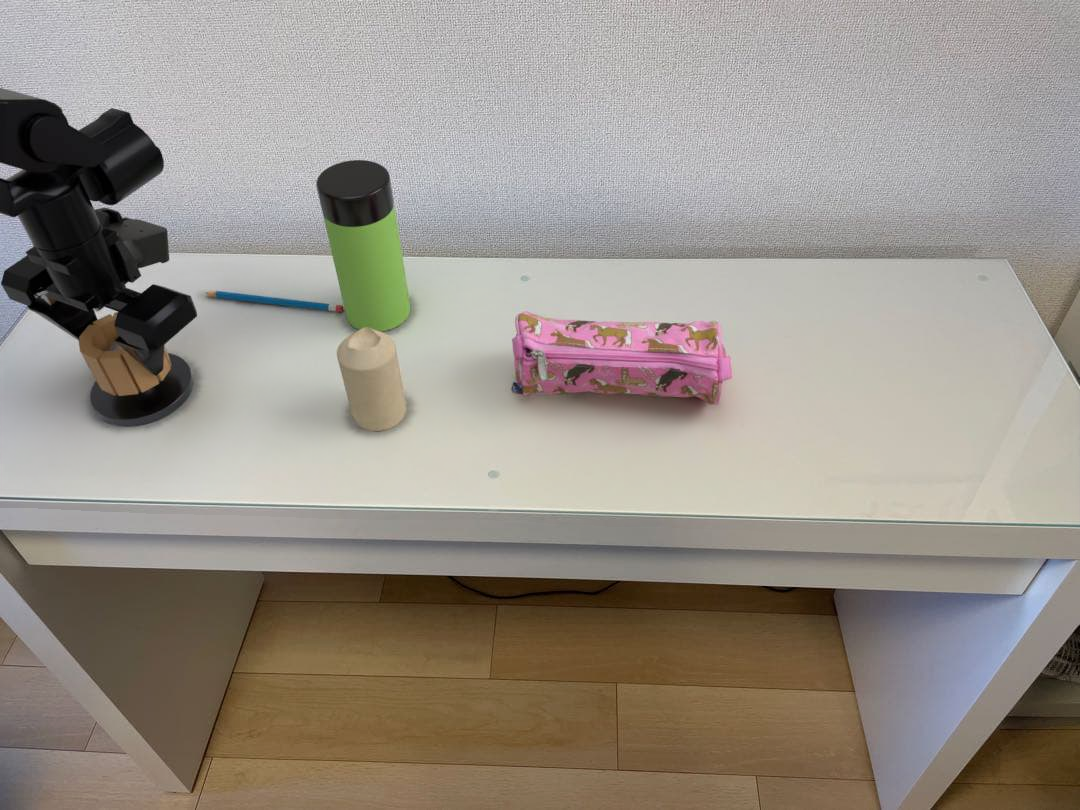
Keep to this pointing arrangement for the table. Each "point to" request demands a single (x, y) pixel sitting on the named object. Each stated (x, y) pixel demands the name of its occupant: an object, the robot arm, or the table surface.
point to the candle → (372, 379)
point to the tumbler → (365, 243)
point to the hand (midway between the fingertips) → (130, 361)
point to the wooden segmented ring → (115, 361)
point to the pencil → (276, 301)
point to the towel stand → (145, 397)
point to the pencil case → (619, 357)
